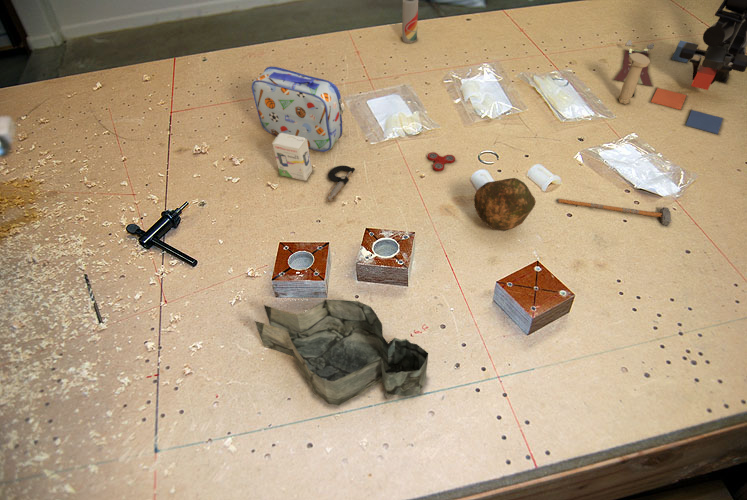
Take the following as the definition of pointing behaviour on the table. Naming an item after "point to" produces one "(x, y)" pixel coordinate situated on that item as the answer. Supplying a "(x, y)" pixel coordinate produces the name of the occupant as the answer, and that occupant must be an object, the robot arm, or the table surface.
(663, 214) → the sledgehammer
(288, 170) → the ink box
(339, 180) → the micrometer
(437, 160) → the fidget spinner
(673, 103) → the orange square mat
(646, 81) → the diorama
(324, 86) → the lunch box
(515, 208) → the rock
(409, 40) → the spray bottle
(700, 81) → the red block
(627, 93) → the handle
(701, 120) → the blue mat
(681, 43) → the blue block
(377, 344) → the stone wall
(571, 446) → the table surface
